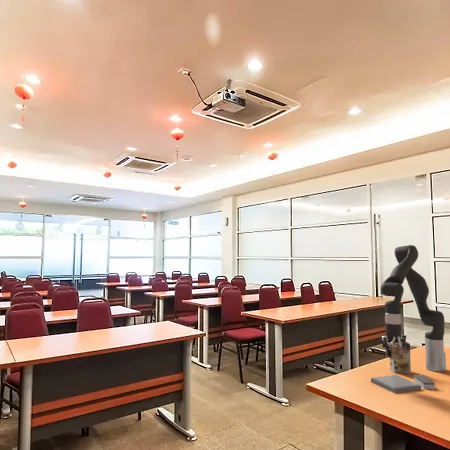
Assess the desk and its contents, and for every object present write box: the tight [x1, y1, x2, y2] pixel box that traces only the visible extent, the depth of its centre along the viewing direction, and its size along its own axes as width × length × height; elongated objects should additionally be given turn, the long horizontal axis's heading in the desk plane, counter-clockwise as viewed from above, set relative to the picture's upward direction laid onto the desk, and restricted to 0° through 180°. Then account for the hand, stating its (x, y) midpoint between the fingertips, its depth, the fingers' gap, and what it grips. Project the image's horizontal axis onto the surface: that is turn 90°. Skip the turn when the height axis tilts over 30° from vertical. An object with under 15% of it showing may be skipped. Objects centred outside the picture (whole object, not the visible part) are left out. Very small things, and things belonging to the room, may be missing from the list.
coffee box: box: [389, 341, 412, 374], centre depth 206 cm, size 9×6×16 cm
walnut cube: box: [385, 345, 403, 359], centre depth 183 cm, size 6×6×6 cm
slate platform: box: [370, 374, 422, 394], centre depth 182 cm, size 16×16×2 cm
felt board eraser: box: [413, 374, 436, 390], centre depth 184 cm, size 12×5×3 cm, turn 174°
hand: (394, 356), depth 183 cm, fingers closed on walnut cube, 5 cm apart
